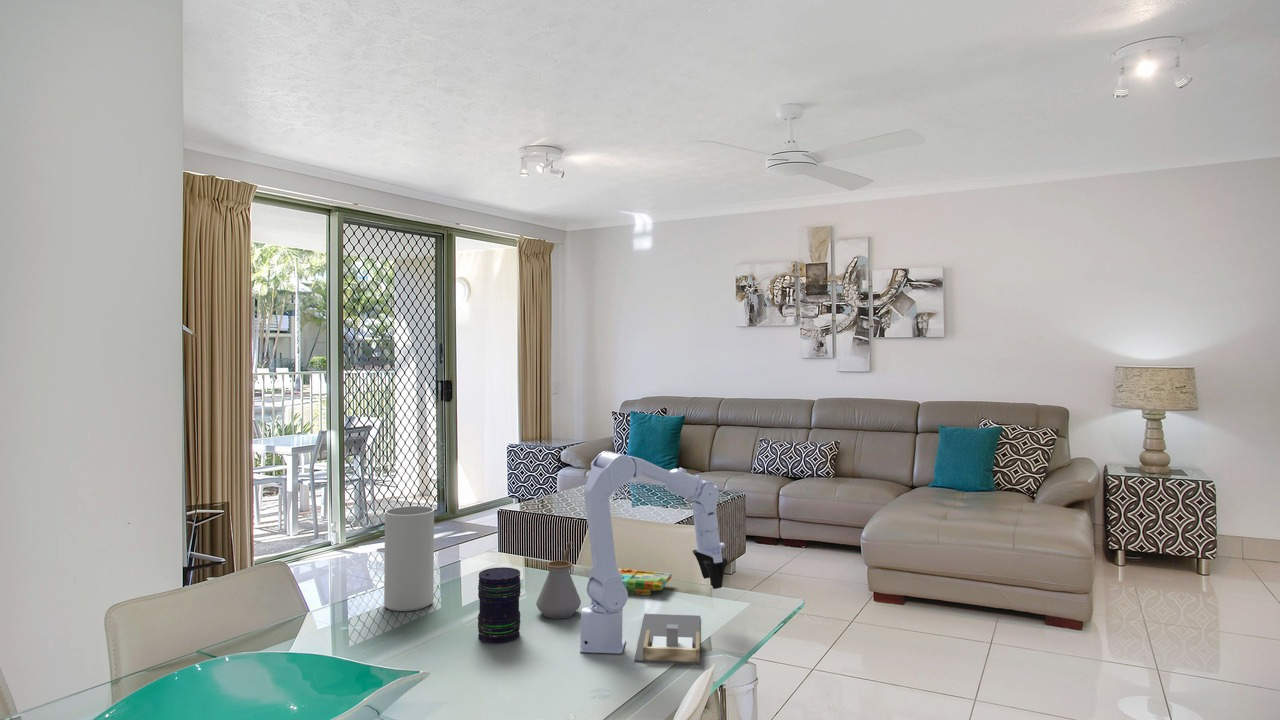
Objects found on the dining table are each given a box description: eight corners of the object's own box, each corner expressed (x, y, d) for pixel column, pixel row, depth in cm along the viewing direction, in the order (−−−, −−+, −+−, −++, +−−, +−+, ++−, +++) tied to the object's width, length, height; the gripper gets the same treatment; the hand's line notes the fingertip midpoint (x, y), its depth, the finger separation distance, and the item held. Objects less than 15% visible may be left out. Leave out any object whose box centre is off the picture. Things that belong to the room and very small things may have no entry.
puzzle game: (606, 565, 219) (671, 570, 214) (606, 580, 219) (671, 586, 214) (593, 575, 208) (661, 582, 202) (592, 592, 208) (661, 599, 202)
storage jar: (515, 626, 180) (516, 565, 180) (524, 641, 170) (524, 576, 171) (474, 631, 176) (475, 569, 176) (481, 646, 167) (481, 580, 167)
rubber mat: (634, 661, 159) (634, 660, 159) (644, 615, 189) (644, 613, 189) (699, 664, 158) (699, 662, 158) (699, 617, 187) (699, 615, 187)
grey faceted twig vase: (576, 622, 183) (576, 562, 183) (531, 620, 184) (531, 560, 184) (590, 595, 204) (591, 541, 204) (550, 593, 205) (550, 540, 206)
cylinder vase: (374, 610, 191) (375, 513, 191) (401, 595, 203) (401, 504, 203) (417, 614, 188) (418, 516, 188) (442, 599, 200) (442, 507, 200)
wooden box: (642, 661, 159) (643, 647, 159) (646, 642, 170) (646, 629, 170) (699, 663, 158) (699, 650, 158) (699, 644, 169) (699, 631, 169)
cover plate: (650, 656, 161) (651, 633, 161) (653, 641, 170) (653, 618, 170) (692, 658, 160) (692, 634, 160) (692, 642, 169) (692, 620, 169)
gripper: (731, 533, 174) (737, 589, 174) (712, 518, 188) (718, 570, 189) (703, 538, 172) (709, 595, 173) (686, 523, 186) (692, 575, 187)
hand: (712, 582), depth 181 cm, fingers open, 7 cm apart
